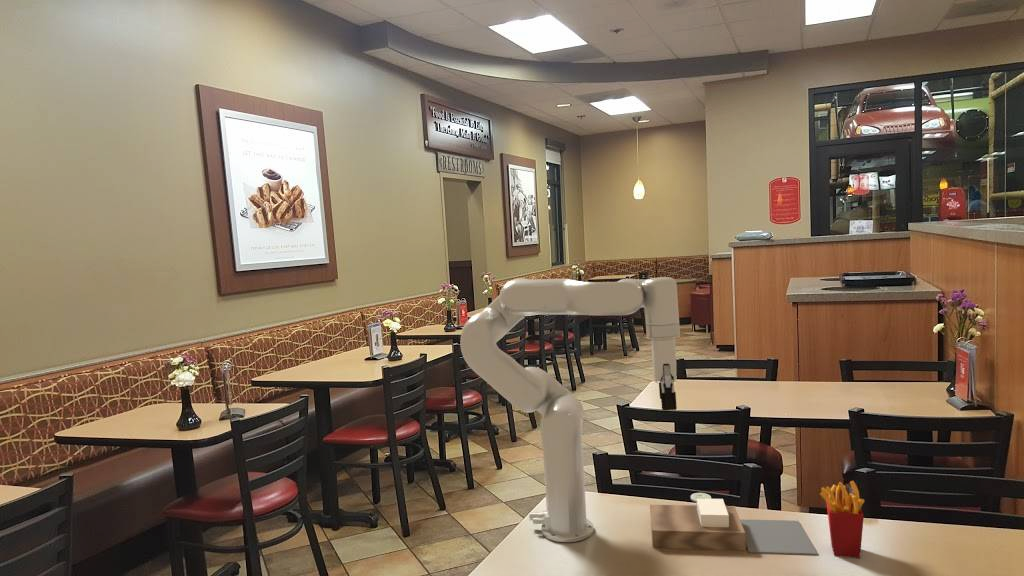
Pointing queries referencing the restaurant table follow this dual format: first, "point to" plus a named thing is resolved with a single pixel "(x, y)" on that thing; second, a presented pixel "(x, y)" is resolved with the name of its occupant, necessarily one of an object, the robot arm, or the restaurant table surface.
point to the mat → (776, 537)
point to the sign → (700, 496)
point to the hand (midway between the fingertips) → (668, 404)
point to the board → (693, 529)
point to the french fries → (844, 520)
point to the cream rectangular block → (712, 513)
